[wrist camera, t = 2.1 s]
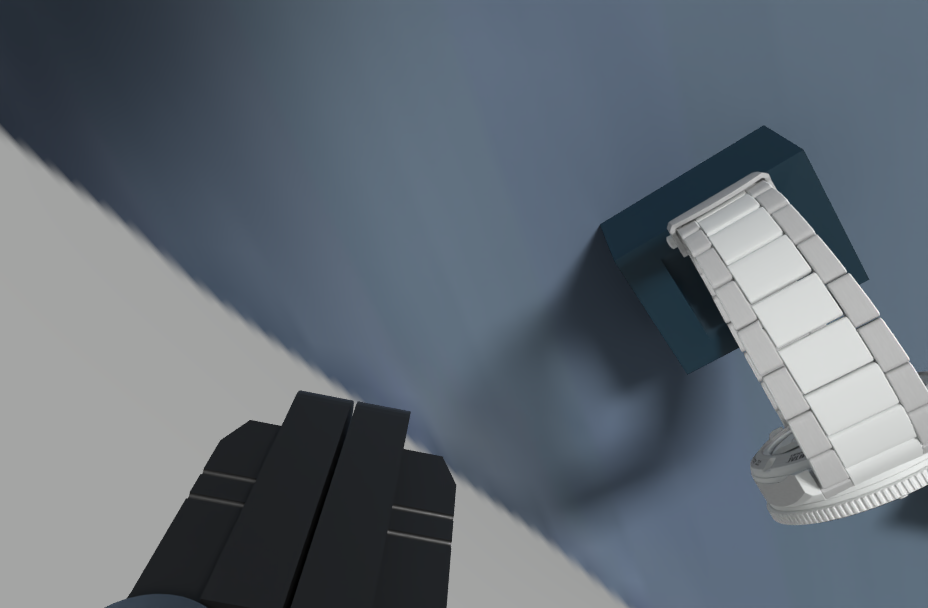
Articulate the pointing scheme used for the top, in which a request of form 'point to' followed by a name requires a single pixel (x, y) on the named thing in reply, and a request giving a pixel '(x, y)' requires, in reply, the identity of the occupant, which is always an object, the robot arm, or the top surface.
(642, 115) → the top surface
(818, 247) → the watch
